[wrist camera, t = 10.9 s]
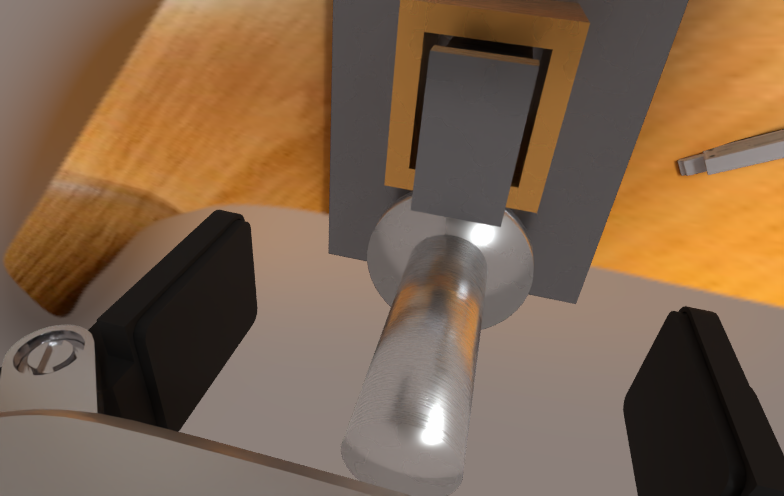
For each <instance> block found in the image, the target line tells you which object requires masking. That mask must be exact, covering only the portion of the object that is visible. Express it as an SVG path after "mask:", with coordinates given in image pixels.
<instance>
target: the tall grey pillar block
mask: <svg viewBox="0 0 784 496" xmlns="http://www.w3.org/2000/svg"><path fill="white" fill-rule="evenodd" d="M538 70H539V60H536V59H533V47H531V46H524V45H516V44H509V43H502V42H494V41H487V40H480V39H472V38H465V37H458V36H453V37H452V39H451V40H450V42H449V43H448V45H447V46H446V47H444V46H437V45H434V46H433V47H432V49H431V50H430V54H429V62H428V70H427V79H426V87H425V95H424V103H423V111H422V120H421V128H420V136H419V144H418V153H417V161H416V169H415V177H414V186H413V194H412V202H411V210H412V211H417V212H422V213H428V214H433V215H438V216H444V217H449V218H454V219H459V220H465V221H470V222H475V223H481V224H486V225H491V226H497V227H501V224H502V220H503V216H504V211H505V207H506V203H507V199H508V195H509V191H510V186H511V182H512V178H513V174H514V170H515V166H516V161H517V157H518V153H519V149H520V145H521V141H522V136H523V132H524V128H525V124H526V120H527V115H528V111H529V107H530V103H531V99H532V95H533V90H534V86H535V82H536V78H537V74H538Z"/></svg>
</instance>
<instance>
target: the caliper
mask: <svg viewBox="0 0 784 496" xmlns="http://www.w3.org/2000/svg"><path fill="white" fill-rule="evenodd" d="M781 158H784V129H782V130H778V131H774V132H770V133H766V134H762V135H758V136H754V137H750V138H746V139H742V140H738V141H734V142H731V143H728V144H725V145H722V146H719V147H716V148H713V149H710V150H706V151H703V154H699V155H694V156H690V157H686V158H683V159H679V160H678V161H677V162H678V165H679V169H680V173H681V175H682V176H683V175H687V176H688V175H693V174H697V173H701V172H705V171H707V173H708V175H710V174H715V173H719V172H724V171H728V170H732V169H737V168H741V167H746V166H750V165H754V164H759V163H763V162H767V161H772V160H776V159H781Z"/></svg>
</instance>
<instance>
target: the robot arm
mask: <svg viewBox="0 0 784 496" xmlns="http://www.w3.org/2000/svg"><path fill="white" fill-rule="evenodd" d="M256 315H257V300H256V287H255V274H254V262H253V250H252V237H251V227H250V224H249V223H248V222H245V220H244V217H243V216H242V215H241V214H237V213H232V212H227V211H223V210H216V211H214V212H213V213H212V214H211V215H210V216H209V217H207V219H205V220H204V221H203V222H202V223H201V224H200V225H199V226H198V227H197V228H196V229H195V230H193V231H192V232H191V233H190V234H189V235H188V236H187V237H186V238H185V239H184V240H183V241H182V242H180V243H179V244H178V245H177V246H176V247H175V248H174V249H173V250H172V251H171V252H170V253H168V254H167V255H166V256H165V257H164V258H163V259H162V260H161V261H160V262H159V263H158V264H157V265H155V267H153V268H152V269H151V270H150V271H149V272H148V273H147V274H146V275H145V276H144V277H142V278H141V280H139V281H138V282H137V283H136V284H135V285H134V286H133V287H132V288H131V289H129V291H127V292H126V293H125V294H124V295H123V296H122V297H121V298H120V299H119V300H118V301H116V302H115V303H114V304H113V305H112V306H111V307H110V308H109V309H108V310H107V311H106V312H105V313H103V314H102V315H101V316H100V317H99V318H98V319H97V322H96V323H95V324H94V325H93V326H92V327H91V328H90V329H89V330H87V329H85V328H82V327H79V326H77V325H57V326H50V327H47V328H44V329H41V330H37V331H35V332H33V333H31V334H29V335H27V336H25V337H23V338H22V339H21V340H19V341H18V342H17V343H15V344H14V345H13V346H12V347H11V348H10V350H9V351H8V352H7V353H6V355H5V357H4V360H3V363H2V367H0V496H412V495H408V494H405V493H401V492H398V491H394V490H390V489H387V488H383V487H380V486H376V485H372V484H369V483H365V482H362V481H358V480H354V479H351V478H347V477H344V476H340V475H336V474H333V473H329V472H325V471H322V470H318V469H315V468H311V467H307V466H304V465H300V464H296V463H292V462H289V461H285V460H282V459H278V458H274V457H271V456H267V455H263V454H260V453H256V452H252V451H248V450H245V449H241V448H237V447H233V446H230V445H226V444H223V443H219V442H215V441H211V440H208V439H204V438H200V437H196V436H193V435H189V434H185V433H181V432H178V431H179V430H180V429H181V428H182V426H183V424H184V423H185V422H186V420H187V419H188V417H189V416H190V415H191V413H192V412H193V410H194V409H195V407H196V406H197V404H198V403H199V402H200V400H201V398H202V397H203V396H204V394H205V393H206V391H207V390H208V388H209V387H210V386H211V384H212V383H213V381H214V380H215V378H216V377H217V375H218V374H219V373H220V371H221V370H222V368H223V367H224V365H225V364H226V362H227V361H228V359H229V358H230V357H231V355H232V354H233V352H234V351H235V349H236V348H237V347H238V344H240V342H241V341H242V339H243V338H244V336H245V335H246V334H247V332H248V331H249V329H250V328H251V326H252V325H253V323H254V321H255V319H256ZM623 411H624V418H625V424H626V429H627V435H628V441H629V447H630V453H631V458H632V464H633V470H634V476H635V481H636V487H637V492H638V496H784V455H783V453H782V450H781V448H780V446H779V444H778V442H777V439H776V437H775V435H774V433H773V431H772V429H771V426H770V424H769V422H768V420H767V417H766V415H765V413H764V411H763V409H762V406H761V404H760V402H759V400H758V398H757V395H756V394H755V392H754V391H753V389H752V388H751V387H750V386H749V383H748V381H747V379H746V377H745V375H744V372H743V370H742V368H741V366H740V363H739V361H738V359H737V357H736V355H735V352H734V350H733V348H732V346H731V343H730V341H729V339H728V337H727V335H726V333H725V330H724V328H723V326H722V324H721V321H720V319H719V317H718V315H717V314H716V313H714V312H711V311H706V310H701V309H696V308H691V307H686V306H685V307H682V308H681V309H680V310H679V312H676V311H671V312H670V313H669V315H668V316H667V318H666V320H665V322H664V324H663V326H662V328H661V330H660V331H659V333H658V335H657V337H656V339H655V341H654V343H653V345H652V347H651V349H650V351H649V353H648V354H647V356H646V358H645V360H644V362H643V364H642V366H641V368H640V370H639V372H638V373H637V375H636V377H635V379H634V381H633V383H632V385H631V387H630V389H629V391H628V392H627V394H626V397H625V400H624V408H623Z"/></svg>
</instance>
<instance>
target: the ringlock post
mask: <svg viewBox="0 0 784 496" xmlns="http://www.w3.org/2000/svg"><path fill="white" fill-rule="evenodd" d="M688 1H689V0H333V43H332V97H331V151H330V205H329V254H334V255H339V256H344V257H348V258H353V259H359V260H363V261H367V263H368V269H369V273H370V276H371V279H372V281H373V283H374V286H375V288H376V289H377V291H378V292H379V294H380V295H381V297H382V298H383V299H384V300H385V302H386V303H387V304H389V306H391V310H390V312H389V315H388V317H387V320H386V323H385V326H384V328H383V331H382V334H381V337H380V340H379V342H378V345H377V348H376V351H375V353H374V356H373V359H372V362H371V364H370V367H369V370H368V373H367V375H366V378H365V381H364V384H363V387H362V390H361V392H360V395H359V398H358V401H357V403H356V406H355V409H354V411H353V414H352V417H351V420H350V423H349V425H348V428H347V431H346V434H345V436H344V439H343V442H342V446H341V454H342V458H343V460H344V462H345V464H346V466H347V468H348V469H349V470H350V472H351V473H352V474H353V475H354V476H355V477H356V478H357V479H358V480H360V481H362V482H365V483H369V484H372V485H376V486H380V487H383V488H387V489H390V490H394V491H398V492H401V493H405V494H408V495H412V496H448V495H450V494H452V493H453V492H454V491H455V490H456V489H457V488H458V487H459V485H460V484H461V482H462V478H463V470H464V463H465V454H466V446H467V437H468V430H469V422H470V414H471V406H472V398H473V389H474V381H475V373H476V365H477V356H478V348H479V341H480V333H481V330H482V329H486V328H489V327H491V326H494V325H496V324H498V323H500V322H502V321H504V320H505V319H507V318H508V317H509V316H511V315H512V314H513V313H514V312H515V311H516V310H517V309H518V308H519V307H520V306H521V305H522V303H523V302H524V300H525V299H526V297H527V295H528V294H529V295H534V296H539V297H544V298H549V299H554V300H559V301H564V302H569V303H574V304H576V302H577V299H578V297H579V294H580V291H581V289H582V286H583V283H584V281H585V278H586V275H587V272H588V270H589V267H590V265H591V262H592V259H593V257H594V254H595V251H596V249H597V246H598V243H599V240H600V238H601V235H602V232H603V230H604V227H605V224H606V222H607V219H608V216H609V213H610V211H611V208H612V205H613V203H614V200H615V197H616V195H617V192H618V189H619V187H620V184H621V181H622V178H623V176H624V173H625V170H626V168H627V165H628V162H629V160H630V157H631V154H632V152H633V149H634V146H635V143H636V141H637V138H638V135H639V133H640V130H641V127H642V125H643V122H644V119H645V117H646V114H647V111H648V108H649V106H650V103H651V100H652V98H653V95H654V92H655V90H656V87H657V84H658V81H659V79H660V76H661V73H662V71H663V68H664V65H665V63H666V60H667V57H668V55H669V52H670V49H671V46H672V44H673V41H674V38H675V36H676V33H677V30H678V28H679V25H680V22H681V20H682V17H683V14H684V11H685V9H686V6H687V3H688ZM453 36H458V37H465V38H472V39H480V40H487V41H494V42H502V43H509V44H516V45H524V46H531V47H533V59H536V60H539V70H538V74H537V78H536V82H535V86H534V90H533V95H532V99H531V103H530V107H529V111H528V115H527V120H526V124H525V128H524V132H523V136H522V141H521V145H520V149H519V153H518V157H517V161H516V166H515V170H514V174H513V178H512V182H511V186H510V191H509V195H508V199H507V203H506V207H505V211H504V216H503V220H502V224H501V227H497V226H491V225H486V224H481V223H475V222H470V221H465V220H459V219H454V218H449V217H444V216H438V215H433V214H428V213H422V212H417V211H412V210H411V202H412V194H413V186H414V177H415V169H416V161H417V153H418V144H419V136H420V128H421V120H422V111H423V103H424V95H425V87H426V79H427V70H428V62H429V54H430V50H431V49H432V47H433V46H434V45H437V46H444V47H446V46H447V45H448V43H449V42H450V40H451V39H452V37H453Z"/></svg>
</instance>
